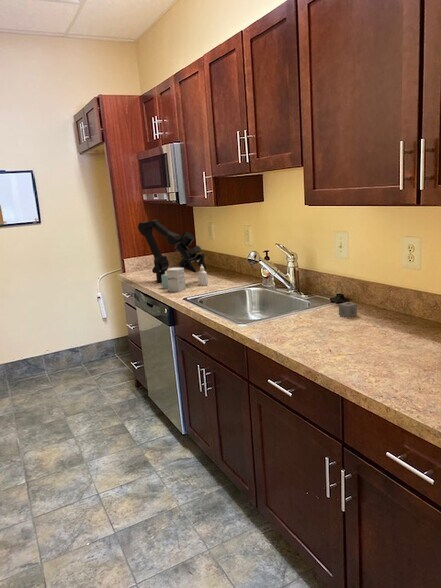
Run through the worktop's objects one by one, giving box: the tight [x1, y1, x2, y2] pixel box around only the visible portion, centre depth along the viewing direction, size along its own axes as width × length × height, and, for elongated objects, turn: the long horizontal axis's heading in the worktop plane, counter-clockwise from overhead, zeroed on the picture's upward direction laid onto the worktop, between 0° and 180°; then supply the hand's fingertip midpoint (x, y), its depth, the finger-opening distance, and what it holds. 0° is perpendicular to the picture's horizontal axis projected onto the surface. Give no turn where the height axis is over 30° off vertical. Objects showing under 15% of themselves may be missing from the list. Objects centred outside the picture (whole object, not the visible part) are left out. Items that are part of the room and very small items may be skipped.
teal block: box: [161, 273, 168, 290], centre depth 264 cm, size 5×5×8 cm
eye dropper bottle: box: [197, 265, 209, 287], centre depth 265 cm, size 4×6×12 cm
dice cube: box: [338, 301, 358, 319], centre depth 185 cm, size 5×5×5 cm
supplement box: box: [166, 267, 187, 293], centre depth 255 cm, size 7×7×13 cm
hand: (201, 270), depth 264 cm, fingers open, 9 cm apart
